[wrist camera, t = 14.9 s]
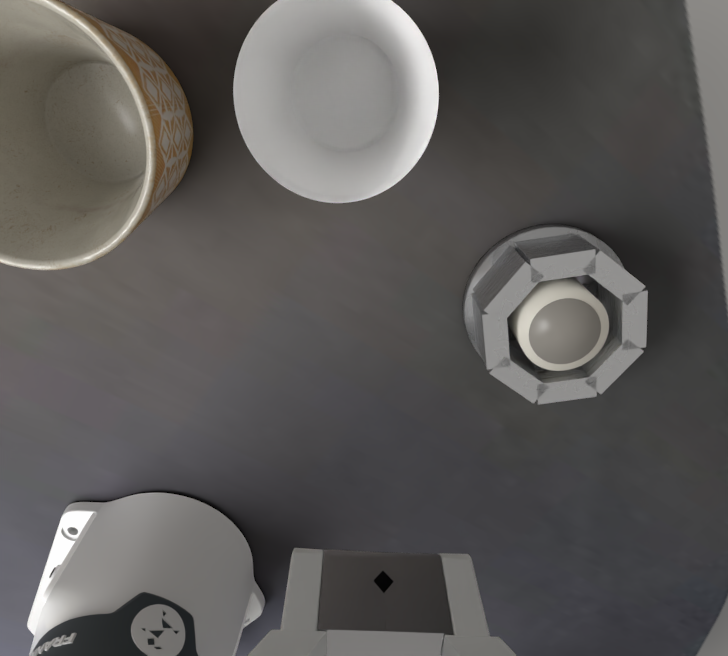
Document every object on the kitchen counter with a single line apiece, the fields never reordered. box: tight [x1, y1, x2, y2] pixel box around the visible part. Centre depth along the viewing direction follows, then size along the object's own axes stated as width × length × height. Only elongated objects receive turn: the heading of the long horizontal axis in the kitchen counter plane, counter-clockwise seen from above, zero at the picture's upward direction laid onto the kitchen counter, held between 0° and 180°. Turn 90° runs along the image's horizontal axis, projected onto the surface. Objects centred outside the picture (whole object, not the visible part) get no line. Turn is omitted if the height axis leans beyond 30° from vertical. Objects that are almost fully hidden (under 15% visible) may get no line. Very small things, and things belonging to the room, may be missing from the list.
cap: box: [507, 277, 609, 371], centre depth 38 cm, size 6×6×4 cm
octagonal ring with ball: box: [462, 224, 648, 404], centre depth 39 cm, size 11×11×5 cm
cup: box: [233, 0, 439, 203], centre depth 30 cm, size 9×9×12 cm
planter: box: [0, 0, 193, 270], centre depth 32 cm, size 13×13×10 cm
